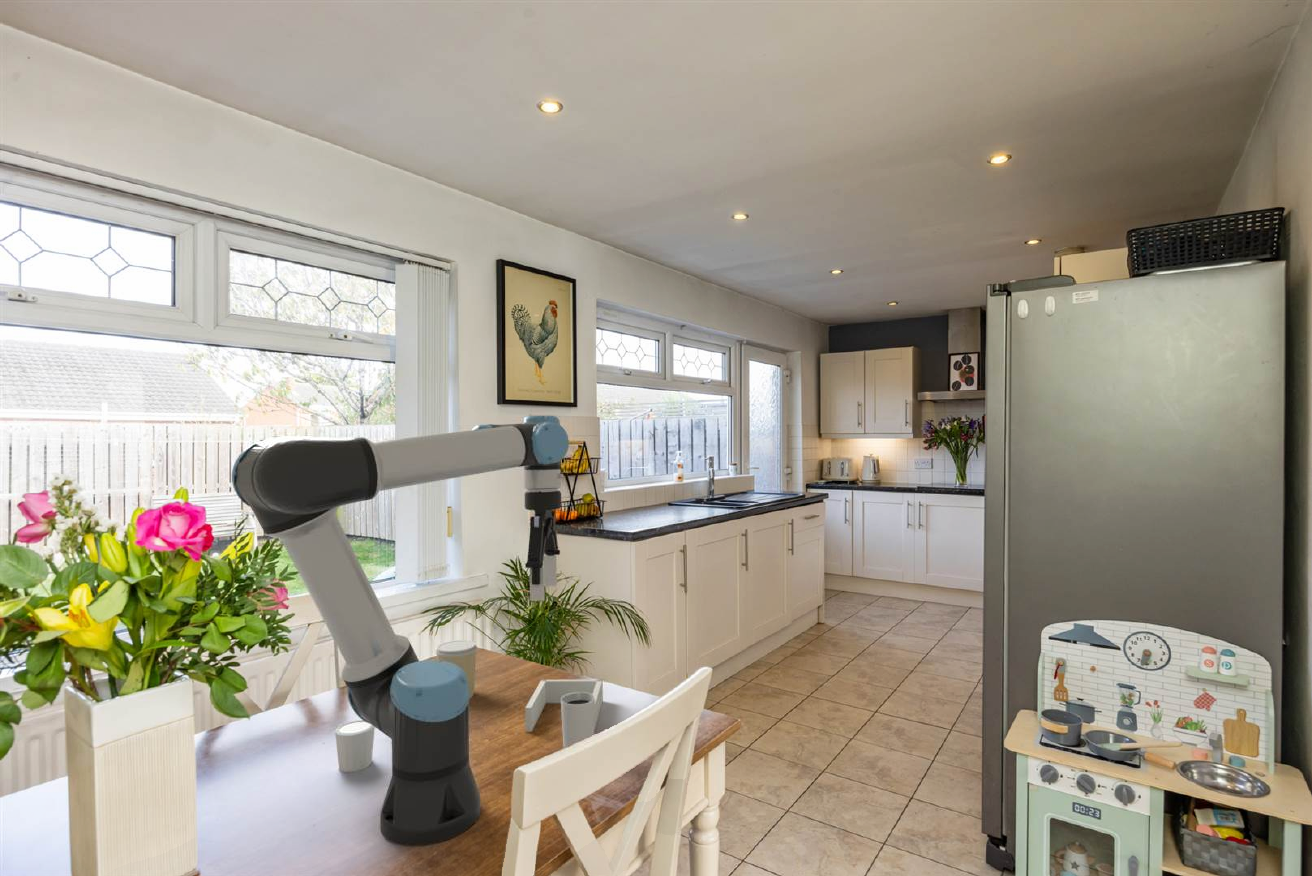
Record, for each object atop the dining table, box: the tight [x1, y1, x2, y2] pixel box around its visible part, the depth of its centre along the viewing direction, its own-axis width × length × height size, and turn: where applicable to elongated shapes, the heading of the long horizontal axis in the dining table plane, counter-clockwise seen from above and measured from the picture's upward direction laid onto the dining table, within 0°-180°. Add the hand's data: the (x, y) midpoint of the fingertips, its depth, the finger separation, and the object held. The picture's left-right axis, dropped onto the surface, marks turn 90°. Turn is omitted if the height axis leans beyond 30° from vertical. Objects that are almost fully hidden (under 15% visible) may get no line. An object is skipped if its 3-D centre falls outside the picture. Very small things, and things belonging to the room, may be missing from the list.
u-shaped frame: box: [524, 679, 604, 733], centre depth 146 cm, size 14×17×5 cm
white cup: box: [560, 692, 595, 748], centre depth 130 cm, size 7×7×10 cm
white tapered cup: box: [334, 719, 376, 773], centre depth 125 cm, size 7×7×7 cm
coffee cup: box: [435, 639, 478, 700], centre depth 159 cm, size 9×9×12 cm
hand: (544, 592), depth 138 cm, fingers open, 13 cm apart
